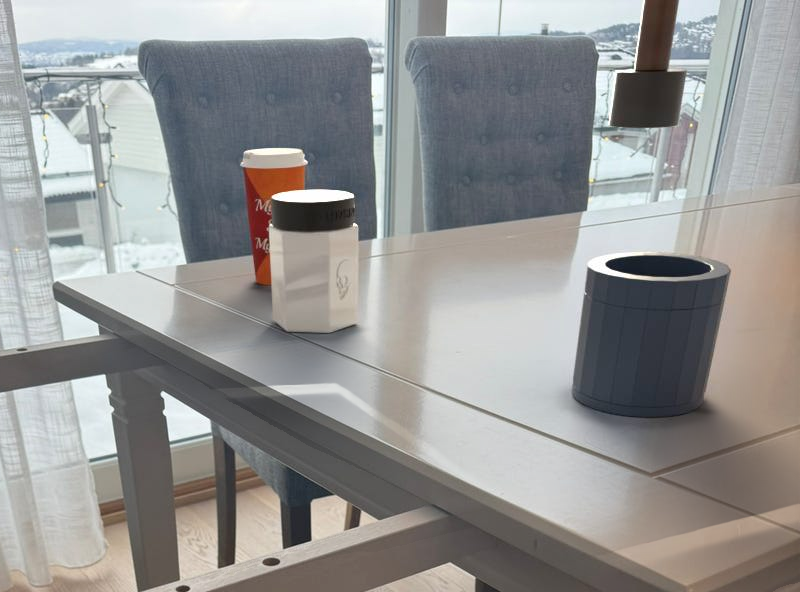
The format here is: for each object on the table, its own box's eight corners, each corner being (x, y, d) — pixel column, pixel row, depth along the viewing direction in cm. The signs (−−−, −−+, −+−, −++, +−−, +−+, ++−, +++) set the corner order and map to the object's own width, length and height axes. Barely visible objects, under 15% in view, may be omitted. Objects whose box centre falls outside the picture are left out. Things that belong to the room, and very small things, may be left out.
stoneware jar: (643, 369, 81) (664, 247, 76) (730, 404, 73) (761, 271, 68) (546, 387, 78) (561, 260, 72) (626, 425, 70) (649, 287, 64)
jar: (317, 339, 91) (314, 205, 85) (257, 326, 96) (250, 198, 89) (373, 319, 97) (374, 193, 90) (314, 308, 101) (311, 186, 95)
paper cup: (260, 290, 109) (253, 156, 101) (238, 277, 115) (230, 150, 107) (321, 283, 111) (319, 151, 104) (296, 270, 117) (292, 145, 109)
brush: (647, 121, 73) (685, -136, 64) (692, 125, 69) (739, -147, 60) (594, 124, 71) (626, -138, 63) (638, 129, 67) (678, -150, 59)
